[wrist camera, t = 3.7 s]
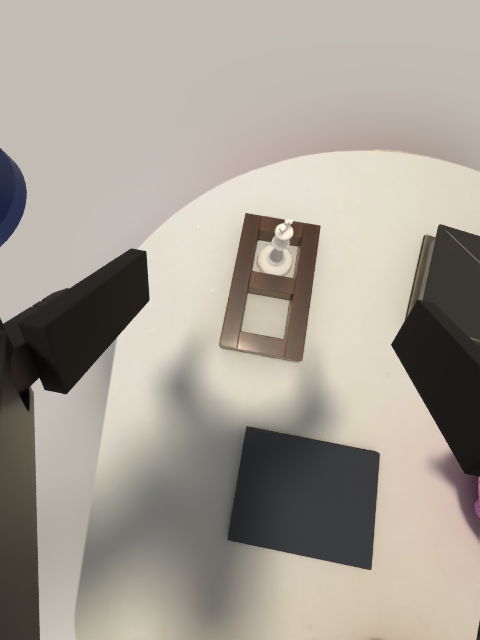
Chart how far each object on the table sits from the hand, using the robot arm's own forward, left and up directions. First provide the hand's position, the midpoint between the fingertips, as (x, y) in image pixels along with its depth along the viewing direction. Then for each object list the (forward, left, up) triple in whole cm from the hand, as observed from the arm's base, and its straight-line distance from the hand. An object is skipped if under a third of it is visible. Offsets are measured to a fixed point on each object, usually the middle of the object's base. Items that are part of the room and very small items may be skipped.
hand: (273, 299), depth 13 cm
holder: (+1, +8, -22) cm, 23 cm away
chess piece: (+1, +12, -22) cm, 25 cm away
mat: (+9, -16, -22) cm, 28 cm away
